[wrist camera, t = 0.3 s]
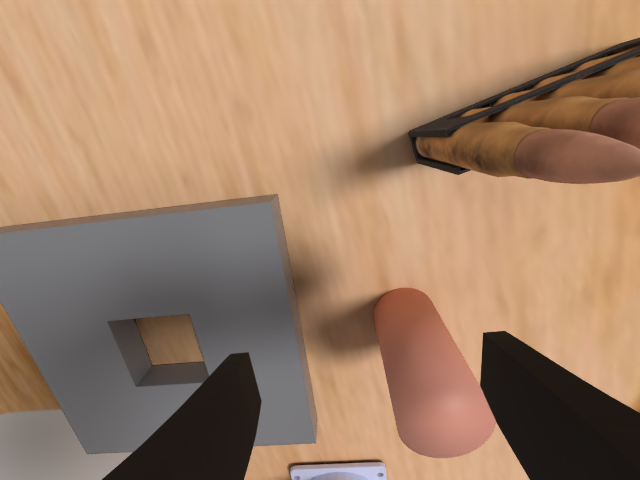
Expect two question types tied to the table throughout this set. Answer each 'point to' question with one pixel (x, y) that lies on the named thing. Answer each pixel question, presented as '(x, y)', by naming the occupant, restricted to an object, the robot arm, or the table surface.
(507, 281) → the table surface
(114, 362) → the socket plate
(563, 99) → the ammunition clip
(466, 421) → the peg
